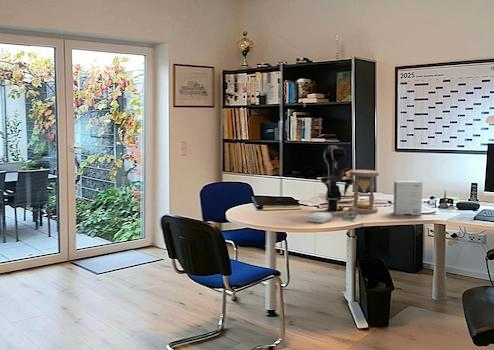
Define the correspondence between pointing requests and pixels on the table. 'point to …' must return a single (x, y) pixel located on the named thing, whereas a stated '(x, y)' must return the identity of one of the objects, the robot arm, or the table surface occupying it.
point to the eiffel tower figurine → (445, 203)
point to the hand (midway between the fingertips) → (337, 194)
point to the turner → (351, 215)
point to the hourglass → (364, 183)
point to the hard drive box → (407, 197)
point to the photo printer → (319, 217)
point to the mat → (354, 219)
